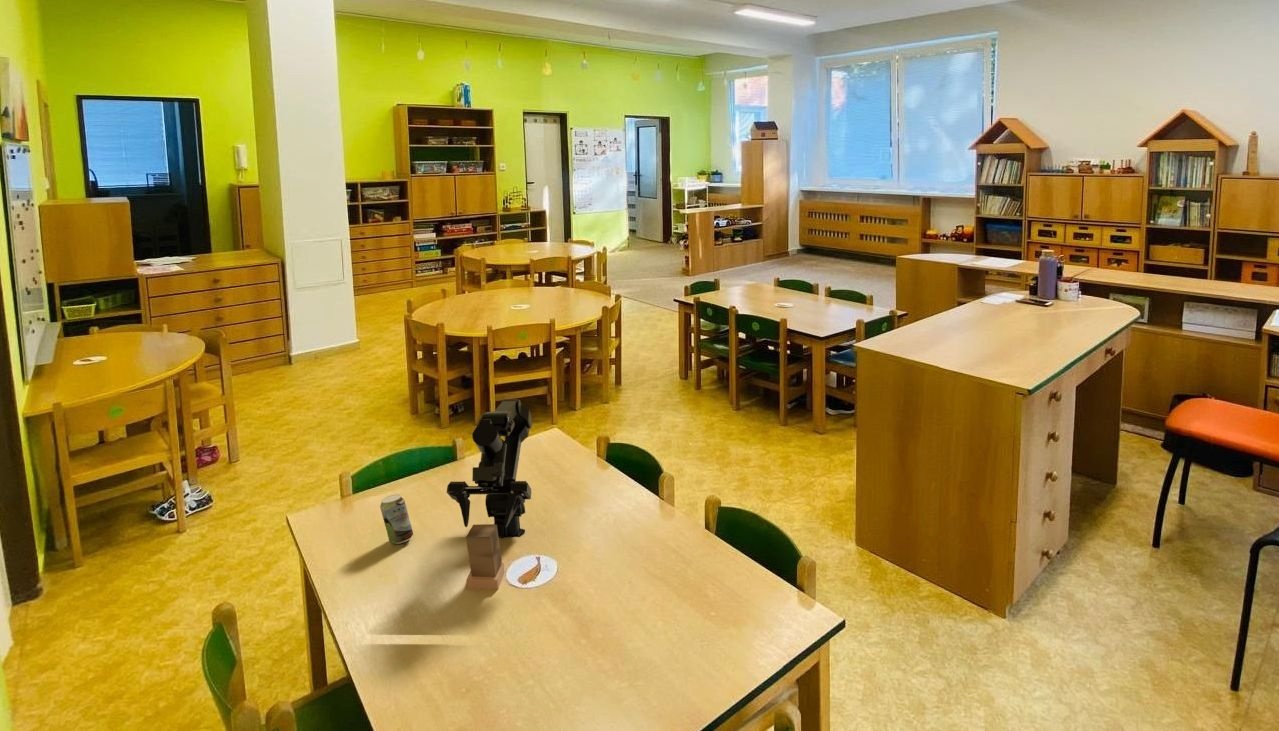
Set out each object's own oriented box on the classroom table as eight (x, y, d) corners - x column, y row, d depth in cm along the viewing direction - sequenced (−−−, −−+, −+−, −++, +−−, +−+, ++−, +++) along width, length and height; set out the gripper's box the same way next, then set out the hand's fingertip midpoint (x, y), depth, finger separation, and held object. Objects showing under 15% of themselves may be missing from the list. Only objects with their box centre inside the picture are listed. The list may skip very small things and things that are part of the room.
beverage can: (406, 547, 193) (401, 504, 189) (380, 545, 194) (374, 502, 191) (418, 535, 199) (413, 493, 195) (392, 533, 200) (386, 491, 197)
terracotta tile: (474, 573, 178) (473, 563, 177) (504, 572, 178) (503, 563, 177) (467, 589, 171) (466, 580, 171) (498, 589, 171) (497, 579, 170)
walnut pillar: (478, 563, 177) (473, 524, 174) (501, 563, 177) (496, 524, 174) (471, 576, 172) (465, 536, 169) (495, 576, 172) (490, 536, 169)
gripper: (444, 450, 175) (435, 516, 168) (525, 449, 174) (519, 516, 167) (457, 466, 185) (449, 530, 178) (533, 466, 184) (528, 530, 177)
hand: (485, 526), depth 175 cm, fingers open, 9 cm apart
